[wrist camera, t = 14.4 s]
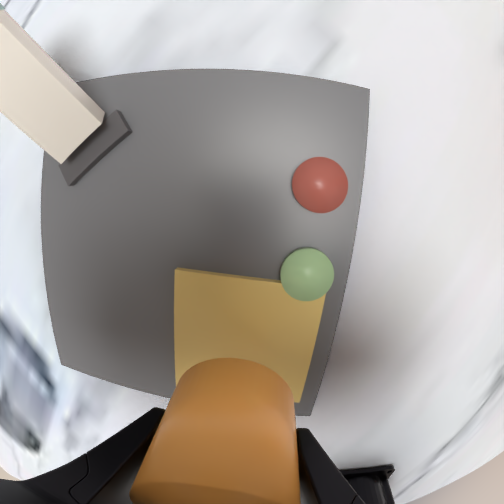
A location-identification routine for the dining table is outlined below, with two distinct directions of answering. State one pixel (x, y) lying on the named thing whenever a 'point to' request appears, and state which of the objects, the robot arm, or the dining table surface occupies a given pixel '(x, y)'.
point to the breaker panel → (205, 226)
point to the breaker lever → (42, 94)
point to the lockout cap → (223, 440)
